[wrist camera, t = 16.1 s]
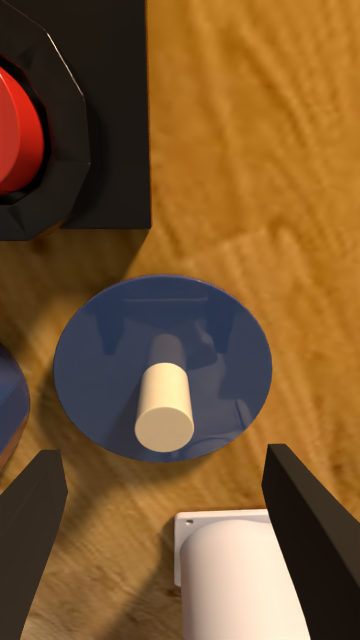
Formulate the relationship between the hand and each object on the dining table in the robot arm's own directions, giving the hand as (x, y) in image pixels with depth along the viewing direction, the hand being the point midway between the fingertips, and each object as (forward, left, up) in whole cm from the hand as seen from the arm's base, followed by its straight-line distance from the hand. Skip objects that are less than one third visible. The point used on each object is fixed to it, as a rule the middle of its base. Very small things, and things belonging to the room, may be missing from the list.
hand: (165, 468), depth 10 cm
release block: (+6, -12, -6) cm, 14 cm away
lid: (0, 0, -6) cm, 6 cm away
